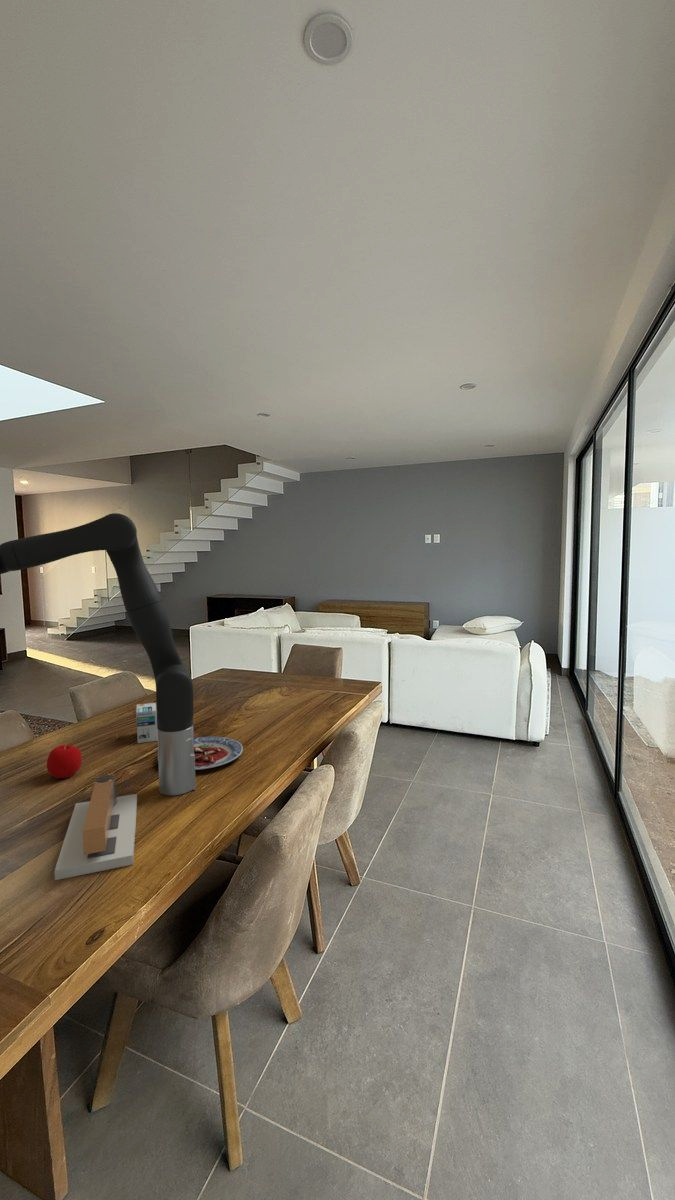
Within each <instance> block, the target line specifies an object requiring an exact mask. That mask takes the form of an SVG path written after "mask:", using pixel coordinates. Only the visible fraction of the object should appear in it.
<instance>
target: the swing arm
mask: <svg viewBox="0 0 675 1200" xmlns="http://www.w3.org/2000/svg"><path fill="white" fill-rule="evenodd" d="M115 779H116V778H115V773H113V774H103V775H99V776H96V778H95V779H94V785H93V789H92V793H91V796H90V804H89V808H88V812H87V816H86V819H85V823H84V827H83V851H84V855H85V854H91V853H96V852H101V851H106V846H107V840H108V834H109V828H110V822H111V816H112V810H113V804H114V798H115V796H116V780H115Z"/></svg>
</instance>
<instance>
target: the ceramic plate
mask: <svg viewBox="0 0 675 1200" xmlns="http://www.w3.org/2000/svg"><path fill="white" fill-rule="evenodd" d="M243 751H244V748H243V745H242V743H240V741H237V740H236V739H232V738H229V737H228V738H227V737H223V736H201V737H194V755H195V771H198V770H199V771H200V770H201V771H202V770H206V769H212V768H216V767H220V766H224V765H226V764H228V763H231V762H233V761H235V760H236V759H238V758H239V757H240V756H241V755H242V754H243Z"/></svg>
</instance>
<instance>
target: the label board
mask: <svg viewBox="0 0 675 1200" xmlns="http://www.w3.org/2000/svg"><path fill="white" fill-rule="evenodd" d="M89 804H90V801H82V802H76V803H75V805H74V808H73V811H72V814H71V818H70V820H69V824H68V828H67V829H66V834H65V837H64V840H63V842H62V847H61V850H60V853H59V856H58V859H57V862H56V865H55V868H54V881H59V880H63V879H68V878H73V877H74V878H75V877H78V876H83V875H87V874H93V873H97V872H98V873H99V872H103V871H109V870H113V869H118V868H122V867H127V866H132V865H134V856H135V855H134V854H135V843H136V842H135V840H136V839H135V838H136V826H137V814H138V813H137V812H138V811H137V810H138V794H137V793H135V794H134V793H133V794H127V795H121V796H116V795H115V798H114V804H113V810H112V816H111V822H110V828H109V834H108V840H107V846H106V851H101V852H96V853H91V854H85V855H84V851H83V827H84V823H85V819H86V816H87V812H88V808H89ZM134 842H135V843H134Z"/></svg>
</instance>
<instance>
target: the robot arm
mask: <svg viewBox="0 0 675 1200" xmlns="http://www.w3.org/2000/svg"><path fill="white" fill-rule="evenodd" d="M136 526H137V525H136V524H135V522H134V521H133V520H132V519H131V518H130V517H129V516H127V515H125V514H122V513H118V512H117V513H116V512H114V513H109V514H106V515H104V516H103V517H99V518H97V519H95V520H93V521H90V522H87V523H84V524H81V525H78V526H75V527H72V528H71V527H70V528H68V529H63V530H62V529H61V530H59V531H58V530H57V531H53V532H48V533H42V534H38V535H33V536H31V535H30V536H27V537H22V538H18V539H13V540H8V541H5V542H3V543H0V575H3V574H6V573H9V572H15V571H22V570H26V569H30V568H35V567H40V566H43V565H46V564H50V563H53V562H56V561H60V560H62V559H65V558H66V559H67V558H68V557H71V556H75V555H79V554H84V553H90V552H98V551H105V552H106V553H107V555H108V558H109V560H110V561H111V564H112V566H113V568H114V570H115V573H116V576H117V581H118V587H119V591H120V596H121V599H122V602H123V605H124V609H125V611H126V614H127V617H128V620H129V621H130V625H131V626H132V628H133V630H134V634H135V635H136V636H137V638H138V640H139V642H140V643H141V645H142V647H143V648H144V650H145V652H146V654H147V655H148V660H149V661H150V664H151V668H152V672H153V677H154V683H155V699H156V702H155V703H156V709H157V734H158V741H157V762H158V787H159V788H158V790H159V793H160V794H162V795H165V796H179V795H184V794H187V793H189V792H191V791H194V790H196V788H197V786H196V784H197V783H196V770H195V755H194V738H195V737H194V715H195V714H194V713H195V711H194V710H195V709H194V683H193V680H192V679H193V678H191V674H190V672H189V671H188V670H187V668H186V666H185V664H184V662H183V660H182V658H181V656H180V653H179V652H178V649H177V647H176V644H175V641H174V636H173V631H172V627H171V623H170V618H169V615H168V612H167V609H166V606H165V604H164V601H163V599H162V596H161V594H160V591H159V589H158V588H157V585H156V583H155V581H154V579H153V577H152V575H151V574H150V571H149V570H148V568H147V566H146V563H145V561H144V559H143V556H142V552H141V547H140V544H139V540H138V534H137V533H138V530H137V527H136Z"/></svg>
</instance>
